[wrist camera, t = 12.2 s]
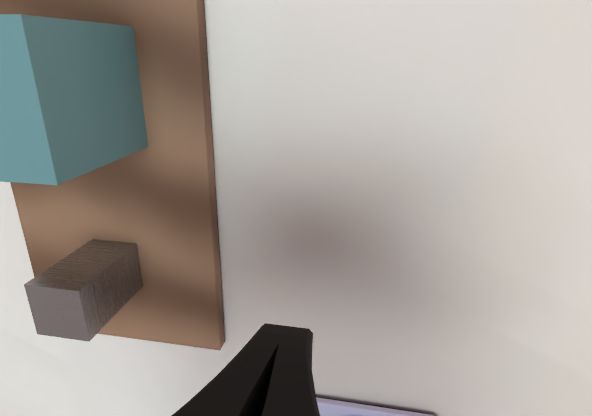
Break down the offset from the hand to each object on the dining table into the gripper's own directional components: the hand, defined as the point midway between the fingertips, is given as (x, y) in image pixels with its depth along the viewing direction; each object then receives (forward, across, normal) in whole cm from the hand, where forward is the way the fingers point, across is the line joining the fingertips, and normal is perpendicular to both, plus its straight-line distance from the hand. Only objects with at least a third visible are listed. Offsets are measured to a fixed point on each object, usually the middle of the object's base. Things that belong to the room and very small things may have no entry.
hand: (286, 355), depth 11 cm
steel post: (+9, +11, +3) cm, 14 cm away
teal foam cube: (+9, +11, -6) cm, 15 cm away
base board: (+9, +11, -2) cm, 15 cm away
